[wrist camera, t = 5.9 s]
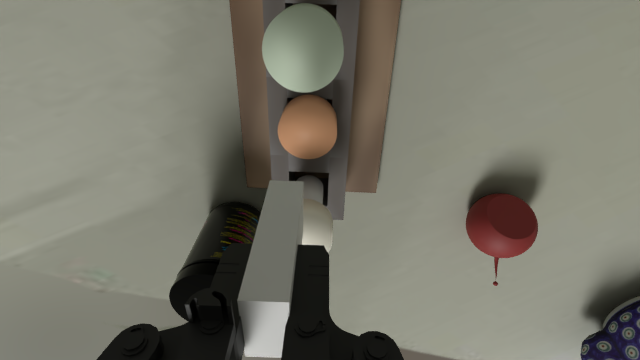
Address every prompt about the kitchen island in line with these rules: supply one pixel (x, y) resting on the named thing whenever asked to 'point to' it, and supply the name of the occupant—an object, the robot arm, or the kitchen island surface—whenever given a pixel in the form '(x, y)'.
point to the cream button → (315, 214)
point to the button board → (342, 93)
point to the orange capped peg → (308, 127)
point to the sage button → (303, 48)
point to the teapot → (616, 335)
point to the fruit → (501, 226)
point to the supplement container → (212, 250)
